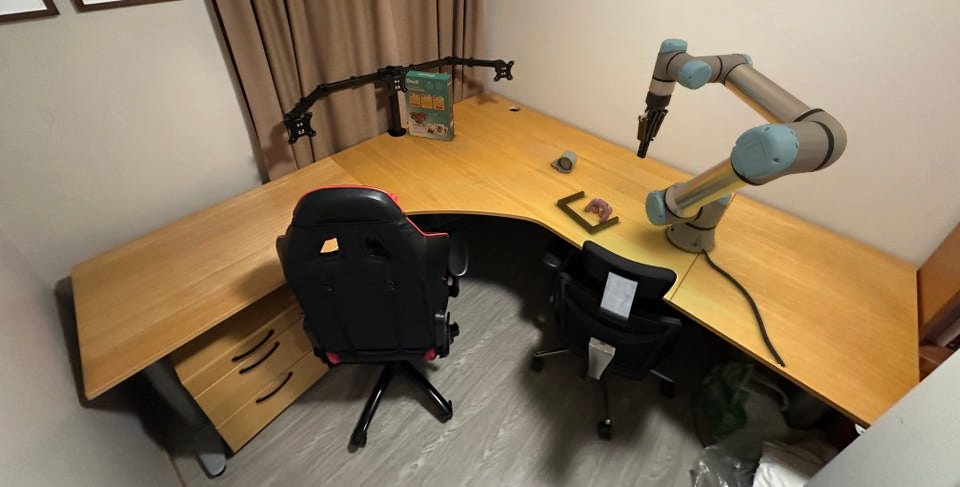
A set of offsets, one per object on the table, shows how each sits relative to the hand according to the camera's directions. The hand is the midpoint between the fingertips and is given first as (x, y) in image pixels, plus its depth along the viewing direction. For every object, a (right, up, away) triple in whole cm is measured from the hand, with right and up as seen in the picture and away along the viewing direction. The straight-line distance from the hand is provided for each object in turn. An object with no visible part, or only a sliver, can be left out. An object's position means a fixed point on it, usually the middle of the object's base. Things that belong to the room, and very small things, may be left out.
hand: (640, 156), depth 144 cm
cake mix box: (-83, +23, +58) cm, 104 cm away
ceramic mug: (-21, +3, +35) cm, 41 cm away
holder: (-17, -20, +10) cm, 28 cm away
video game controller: (-13, -21, +10) cm, 26 cm away
